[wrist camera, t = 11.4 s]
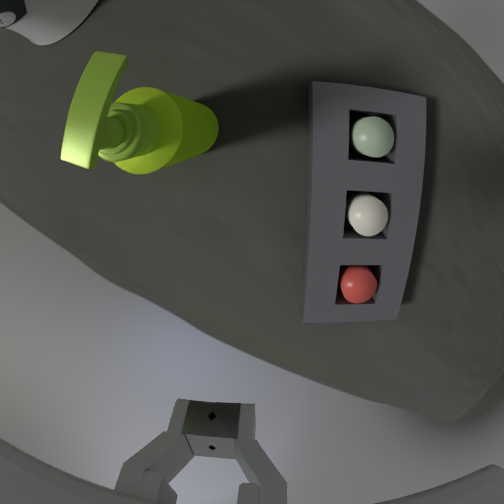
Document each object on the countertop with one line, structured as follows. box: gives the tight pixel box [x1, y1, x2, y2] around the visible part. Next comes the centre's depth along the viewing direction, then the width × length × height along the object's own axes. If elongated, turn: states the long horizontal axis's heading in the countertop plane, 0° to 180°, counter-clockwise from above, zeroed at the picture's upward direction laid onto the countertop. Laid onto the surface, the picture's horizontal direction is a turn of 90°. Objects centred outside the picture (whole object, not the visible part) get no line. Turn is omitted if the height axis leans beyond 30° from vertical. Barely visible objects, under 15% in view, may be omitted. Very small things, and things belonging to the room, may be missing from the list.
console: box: [301, 81, 426, 323], centre depth 30 cm, size 26×12×3 cm, turn 1°
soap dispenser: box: [61, 51, 219, 174], centre depth 20 cm, size 6×7×20 cm
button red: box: [338, 265, 377, 303], centre depth 32 cm, size 4×4×3 cm
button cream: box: [345, 192, 388, 236], centre depth 29 cm, size 4×4×3 cm
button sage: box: [349, 116, 394, 157], centre depth 26 cm, size 4×4×3 cm
